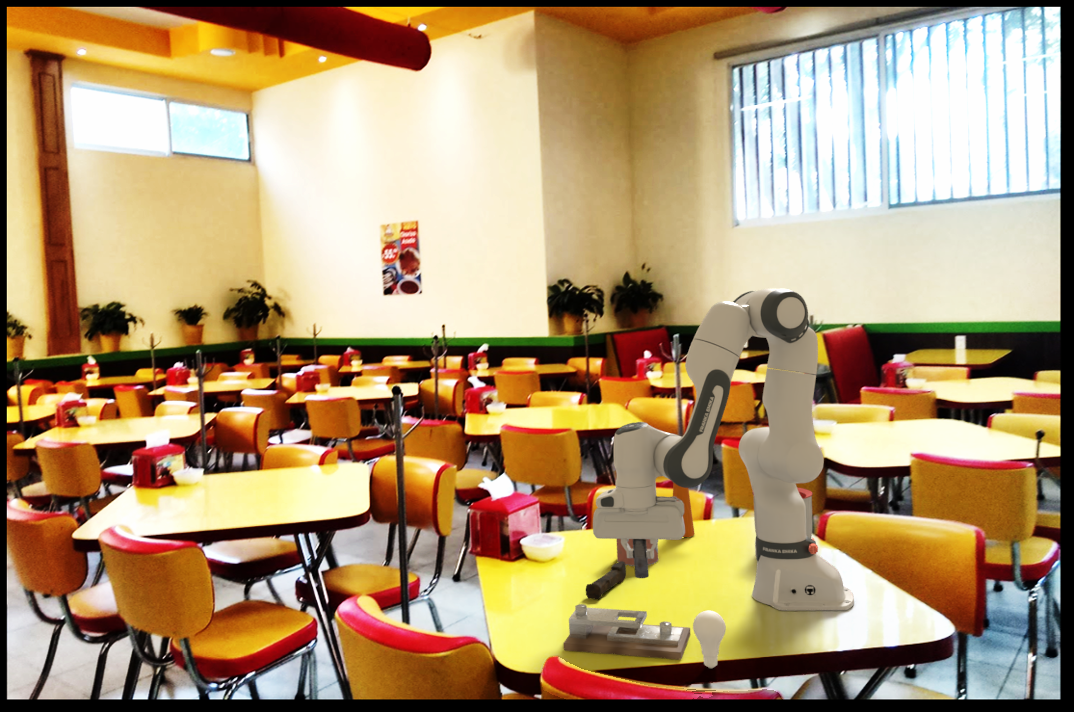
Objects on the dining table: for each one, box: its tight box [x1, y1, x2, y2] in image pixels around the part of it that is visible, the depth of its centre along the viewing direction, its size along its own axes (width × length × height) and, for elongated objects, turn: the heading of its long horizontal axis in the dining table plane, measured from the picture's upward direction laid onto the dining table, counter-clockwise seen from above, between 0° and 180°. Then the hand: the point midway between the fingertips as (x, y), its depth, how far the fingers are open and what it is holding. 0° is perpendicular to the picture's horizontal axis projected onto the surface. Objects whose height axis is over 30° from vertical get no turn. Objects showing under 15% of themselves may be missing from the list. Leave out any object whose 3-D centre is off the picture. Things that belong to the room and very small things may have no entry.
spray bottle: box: [672, 482, 695, 538], centre depth 254 cm, size 7×11×26 cm, turn 42°
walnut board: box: [563, 623, 691, 661], centre depth 179 cm, size 24×13×2 cm, turn 72°
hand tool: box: [585, 561, 627, 600], centre depth 213 cm, size 19×4×5 cm, turn 147°
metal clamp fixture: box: [568, 603, 683, 646], centre depth 178 cm, size 22×7×6 cm, turn 72°
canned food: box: [616, 539, 660, 567], centre depth 234 cm, size 11×11×12 cm
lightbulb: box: [692, 610, 727, 669], centre depth 164 cm, size 6×6×11 cm
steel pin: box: [633, 539, 650, 579], centre depth 191 cm, size 3×3×8 cm
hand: (640, 557), depth 191 cm, fingers closed on steel pin, 3 cm apart
